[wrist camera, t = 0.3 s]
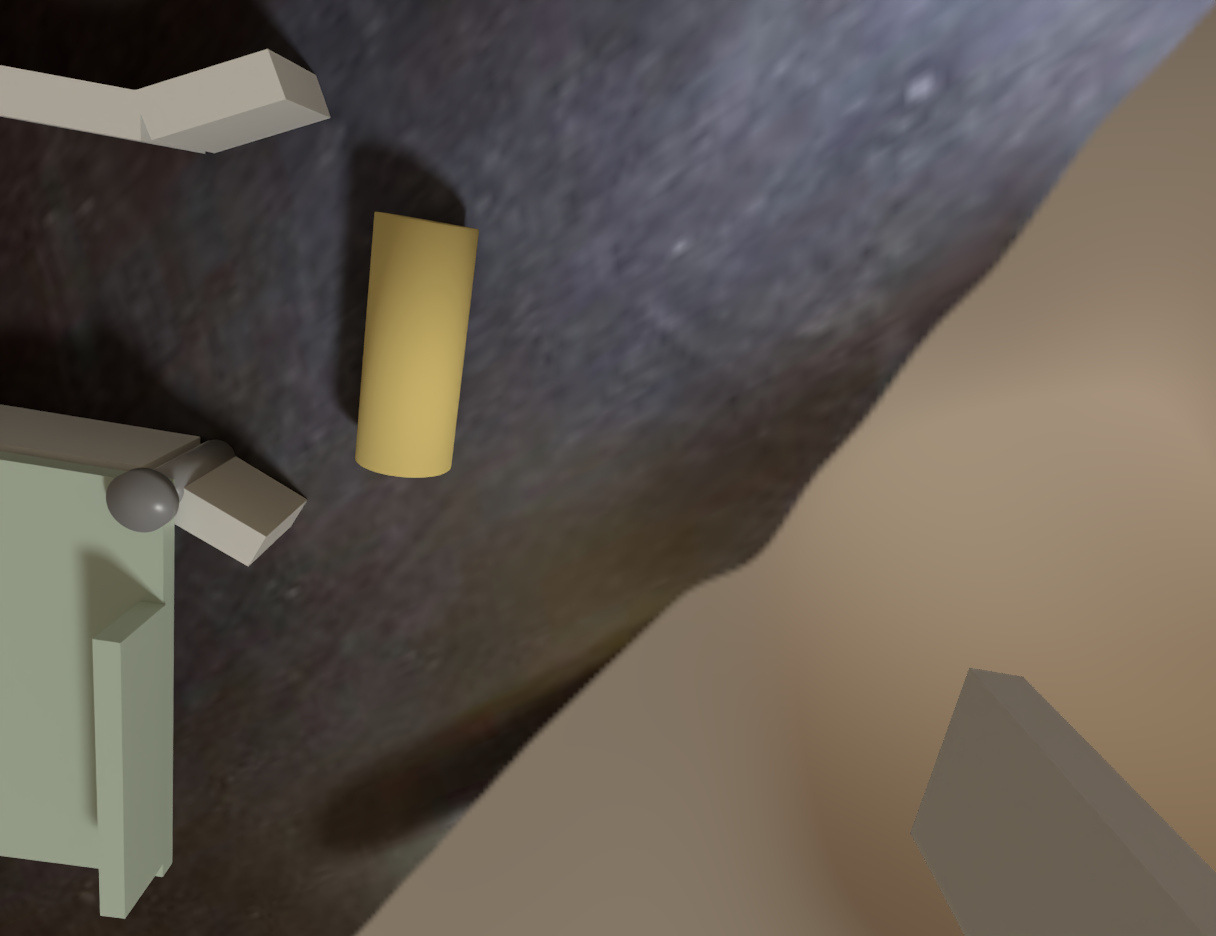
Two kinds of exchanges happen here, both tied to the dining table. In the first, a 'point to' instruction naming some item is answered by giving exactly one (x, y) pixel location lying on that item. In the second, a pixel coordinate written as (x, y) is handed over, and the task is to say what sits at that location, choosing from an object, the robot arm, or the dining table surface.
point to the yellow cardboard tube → (414, 344)
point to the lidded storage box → (198, 121)
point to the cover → (87, 670)
